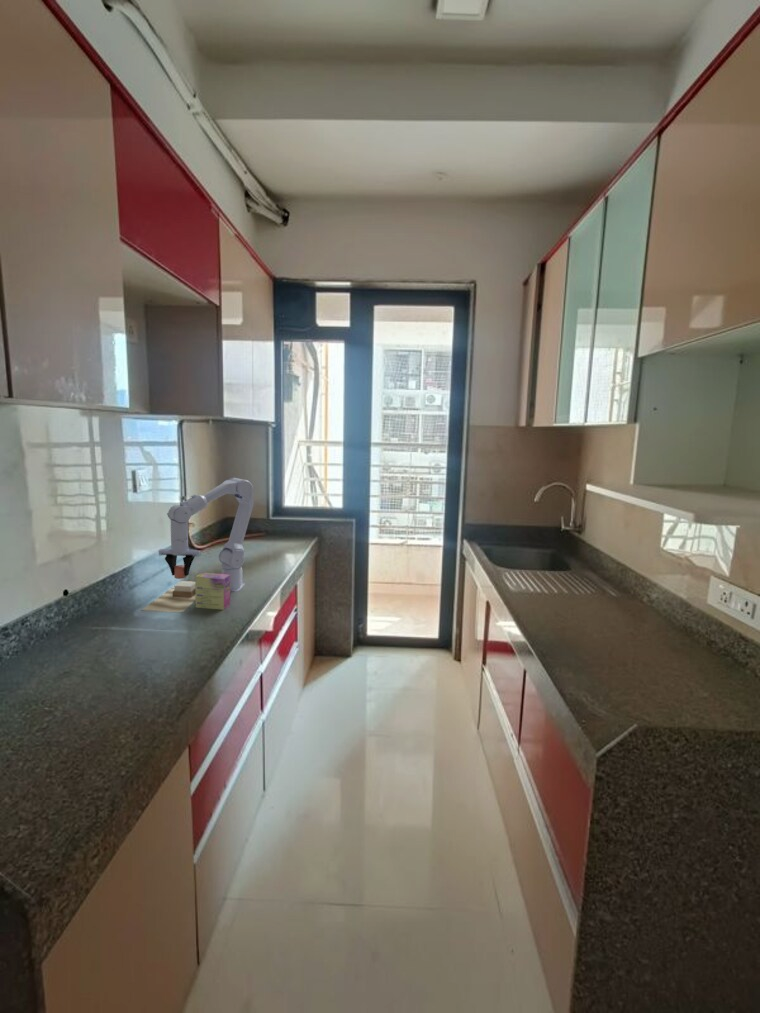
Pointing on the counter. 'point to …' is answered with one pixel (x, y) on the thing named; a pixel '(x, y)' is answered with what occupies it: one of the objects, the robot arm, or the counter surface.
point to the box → (212, 591)
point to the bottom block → (184, 593)
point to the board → (170, 603)
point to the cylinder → (179, 572)
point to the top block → (185, 586)
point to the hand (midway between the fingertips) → (180, 574)
